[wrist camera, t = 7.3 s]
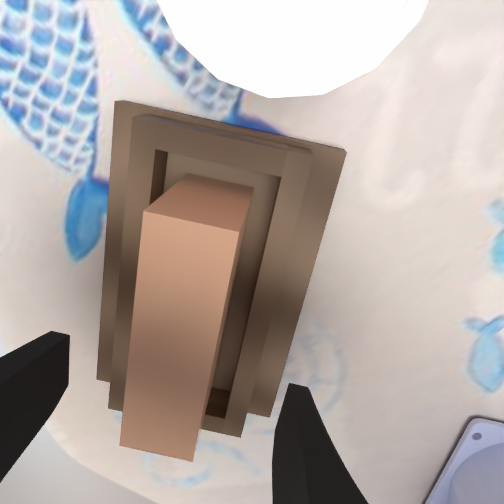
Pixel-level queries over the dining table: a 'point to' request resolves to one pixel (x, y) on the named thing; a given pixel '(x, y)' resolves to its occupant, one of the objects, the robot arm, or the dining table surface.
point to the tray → (252, 253)
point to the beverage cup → (290, 40)
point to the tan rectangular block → (181, 311)
